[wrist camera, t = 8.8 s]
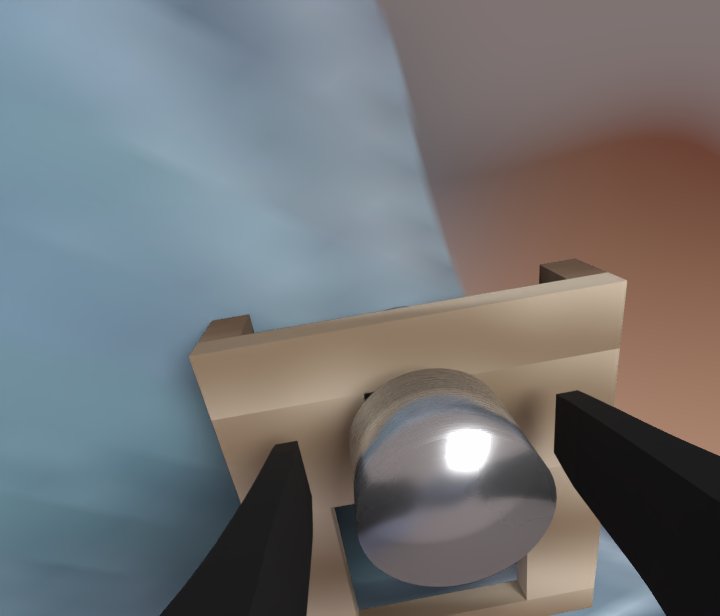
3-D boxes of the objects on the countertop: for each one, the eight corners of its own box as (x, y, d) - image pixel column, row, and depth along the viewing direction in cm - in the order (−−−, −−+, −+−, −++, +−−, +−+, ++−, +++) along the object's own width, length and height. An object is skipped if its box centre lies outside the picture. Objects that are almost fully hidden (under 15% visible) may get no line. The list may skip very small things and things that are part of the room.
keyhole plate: (559, 551, 18) (591, 607, 16) (301, 600, 18) (297, 663, 16) (575, 258, 13) (626, 280, 11) (212, 320, 13) (188, 356, 11)
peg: (480, 418, 15) (571, 573, 10) (346, 445, 15) (360, 616, 10) (471, 292, 13) (578, 394, 8) (318, 322, 13) (314, 447, 8)
